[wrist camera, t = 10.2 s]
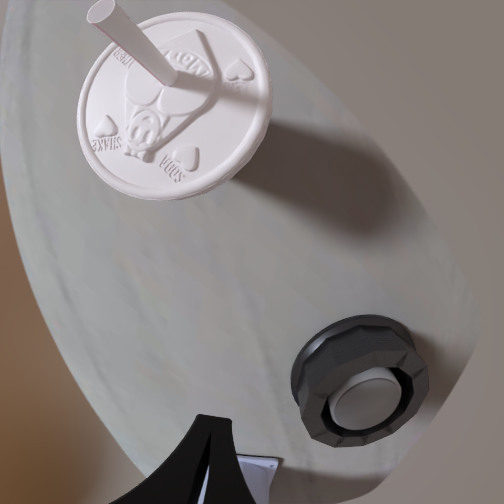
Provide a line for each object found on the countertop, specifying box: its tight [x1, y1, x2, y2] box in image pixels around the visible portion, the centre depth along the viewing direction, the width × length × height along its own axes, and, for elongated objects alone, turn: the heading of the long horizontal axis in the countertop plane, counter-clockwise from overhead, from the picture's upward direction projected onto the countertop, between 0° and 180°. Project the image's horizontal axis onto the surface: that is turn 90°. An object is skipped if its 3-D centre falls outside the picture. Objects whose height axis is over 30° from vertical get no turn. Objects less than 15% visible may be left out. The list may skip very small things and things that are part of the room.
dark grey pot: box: [291, 315, 429, 448], centre depth 18 cm, size 10×10×4 cm
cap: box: [327, 367, 401, 430], centre depth 18 cm, size 5×5×4 cm
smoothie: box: [77, 0, 272, 200], centre depth 10 cm, size 6×6×14 cm
